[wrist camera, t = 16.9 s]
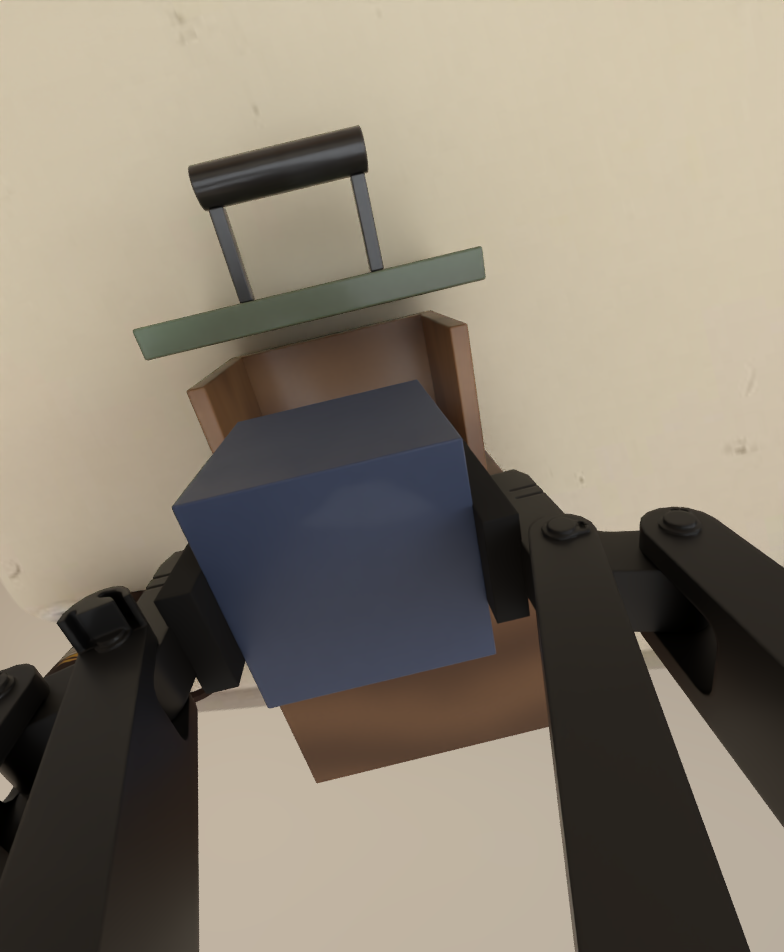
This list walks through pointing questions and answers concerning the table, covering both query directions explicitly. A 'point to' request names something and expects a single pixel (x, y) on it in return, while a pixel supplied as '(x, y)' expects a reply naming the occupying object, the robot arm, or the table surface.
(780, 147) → the table surface
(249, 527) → the block
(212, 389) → the drawer
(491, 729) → the cabinet
